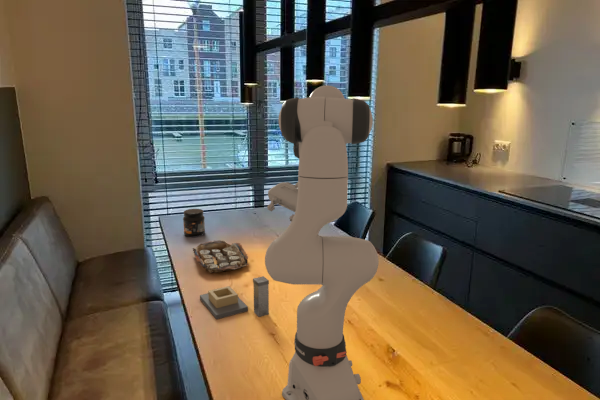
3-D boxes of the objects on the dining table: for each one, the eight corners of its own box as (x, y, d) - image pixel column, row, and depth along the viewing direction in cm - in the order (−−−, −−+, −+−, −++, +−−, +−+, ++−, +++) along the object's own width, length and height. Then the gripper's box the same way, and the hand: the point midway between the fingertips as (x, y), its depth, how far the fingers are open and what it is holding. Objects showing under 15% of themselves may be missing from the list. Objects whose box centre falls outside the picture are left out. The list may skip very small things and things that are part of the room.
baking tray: (257, 272, 176) (257, 259, 174) (204, 281, 166) (204, 268, 165) (234, 248, 202) (234, 237, 200) (187, 255, 192) (186, 243, 191)
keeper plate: (247, 310, 144) (247, 298, 143) (216, 319, 138) (215, 306, 137) (229, 291, 157) (229, 280, 156) (199, 299, 152) (199, 287, 151)
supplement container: (180, 233, 220) (178, 210, 217) (198, 229, 227) (197, 207, 224) (190, 238, 212) (189, 215, 210) (209, 234, 219) (208, 211, 216)
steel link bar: (269, 314, 142) (268, 280, 139) (258, 317, 140) (258, 283, 137) (263, 309, 145) (263, 276, 142) (253, 312, 143) (252, 278, 140)
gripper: (283, 173, 147) (254, 195, 140) (331, 194, 136) (303, 219, 129) (285, 188, 151) (257, 210, 144) (332, 209, 140) (305, 234, 133)
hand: (280, 214), depth 136 cm, fingers open, 8 cm apart
